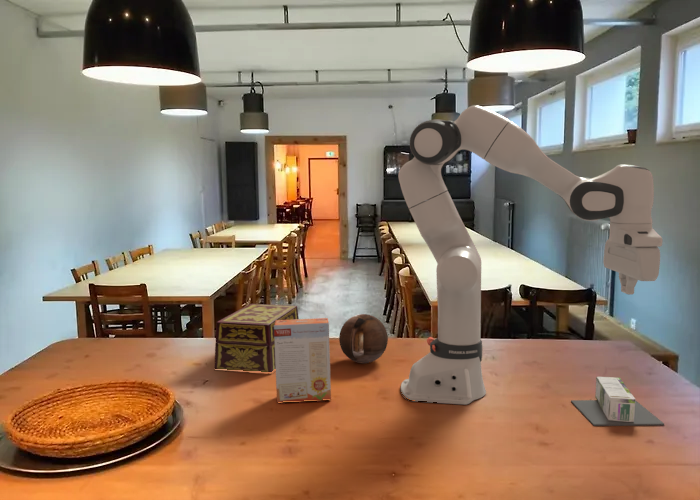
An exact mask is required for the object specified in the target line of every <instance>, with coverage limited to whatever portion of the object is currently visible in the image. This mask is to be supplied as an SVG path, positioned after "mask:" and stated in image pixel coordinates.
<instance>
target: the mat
mask: <svg viewBox="0 0 700 500" xmlns="http://www.w3.org/2000/svg"><path fill="white" fill-rule="evenodd" d="M570 402H571V403H572V404H573V406H574V407H576V409H577V410H578V412H580V413H581V414H582V415H583V417H585V418H586V419H587V420H588V422H589V423H590V424H592V425H593V427H613V426H614V427H616V426H617V427H618V426H619V427H620V426H622V427H624V426H627V427H628V426H629V427H631V426H632V427H635V426H639V427H640V426H644V427H645V426H665V423H664V422H663V421H662V420H661V419H660V418H658V417H657V416H656V415H654V414H653V413H652V412H651V411H650V410H649V409H647V408H646V407H644V406H643V405H642V404H641V403H640V402H638V401H637V400H636V399H635V412H634V422H624V421H612V420H608V419H607V417H606V415H605V414H604V412H603V410H602V408H601V406H600V405H599V403H598V401H597V399H589V400H588V399H581V400H579V399H577V400H576V399H575V400H573V399H572V400H570Z"/></svg>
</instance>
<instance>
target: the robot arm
mask: <svg viewBox="0 0 700 500" xmlns="http://www.w3.org/2000/svg"><path fill="white" fill-rule="evenodd" d="M409 148H410V152H411V153H412V154H411V155H413V157H412V159H411V160H409V161H406V162H405V163H404V164H403V165H402V166H401V168H400V169H399V171H398V177H397V178H398V182H399V184H400V190H401V193H402V196H403V198H404V201H405V203H406V206H407V207H408V210H409V213H410V215H411V216H412V219H413V220H414V223H415V225H416V227H417V229H418V231H419V233H420V236H421V237H422V239H423V240H424V242H425V244H426V245H427V247H428V248H429V250H430V252H431V254H432V256H433V258H434V260H435V261H436V264H437V265H436V296H437V297H436V298H437V337H436V338H435V339H434V337H432V336H429V337H427V339H426V343H427V345H428V346H429V350H430V352H428V353H427V354H425V355H424V356H422V357H421V358H420V359H419V360H417V361H416V362H414V363H413V364H412V366H411V368H410V371H409V375H408V378H405V379H404V380H403V381H402V382H401V384H400V393H401V392H402V393H401V395H402V394H403V395H404V396H405V397H406V398H408V399H410V400H415V401H414V402H418V401H427V402H426V403H433V402H437V403H436V404H451V405H452V404H453V405H465V406H466V405H469V404H470V403H472V402H474V401H475V400H478V399H481V398H482V397H484V396H485V395H486V394H487V389H486V387H485V383H484V379H483V372H482V360H483V359H482V358H483V341H482V339H481V325H482V324H481V317H482V316H481V315H482V260H481V259H482V258H481V256H480V254H479V251H478V249H477V247H476V245H475V244H474V241H473V239H472V237H471V235H470V233H469V232H468V229H467V228H466V226H465V224H464V222H463V220H462V218H461V216H460V214H459V211H458V210H457V208H456V205H455V202H454V201H453V199H452V197H451V194H450V193H449V191H448V187H447V186H446V184H445V181H444V179H443V176H442V169H443V168H444V167H445V166H447V165H448V164H449V163H450V162H451V161H452V160H453V159H454V158H455V157H456V156H457V155H459V154H458V153H459V152H460V151H461V150H465V151H469V152H471V153H473V154H475V155H476V156H478V157H480V158H481V159H482V160H484V161H486V162H487V163H489V164H490V165H492V166H494V167H496V168H498V169H500V170H503V171H505V172H508V173H511V174H516V175H522V176H525V177H527V178H529V179H532V180H534V181H537V182H538V183H539V184H541V185H543V186H544V187H546V188H547V189H549V190H550V191H552V192H553V193H555V194H556V195H558V196H559V197H560V198H561V199H562V200H563V201H564V202H565V204H566V206H567V207H568V209H569V210H570V211H571V213H572V214H573V215H575V216H576V217H577V218H579V219H581V220H583V221H587V222H589V221H590V222H593V221H595V222H596V221H598V220H603V219H607V218H609V234H608V235H609V237H608V239H606V241H605V244H604V249H603V250H604V252H603V262H602V263H603V266H604V268H606V269H609V270H611V271H614V272H616V273H618V279H619V283H620V286H621V287H620V292H622V293H624V294H625V295H634V294H635V287H636V285H637V283H638V282H639V281H640V282H655V281H657V279H658V277H659V275H660V266H661V265H660V264H661V251H660V250H661V249H660V248H659V247H662V246H663V237H662V236H661V235H660V234H658V232H657V231H656V230H655V229H654V228H653V218H652V209H653V206H654V200H655V199H654V194H655V185H654V177H653V173H652V172H651V171H650V169H648V168H647V167H644V166H639V165H633V164H624V163H623V164H617V165H616V166H615V167H613V168H612V169H610V170H608V171H606V172H604V173H601V174H600V175H597V176H594V177H591V178H590V177H583V176H579V175H576V174H574V173H573V172H571V171H570V170H568V169H567V168H565V167H564V166H562V165H560V164H559V163H557V162H556V161H554V160H553V159H551V158H550V157H549V156H547V155H546V154H545V153H544V151H542V149H541V148H540V147H539V145H538V144H537V142H536V141H535V139H534V138H533V137H532V136H531V135H530V134H528V133H527V131H525V130H524V129H523V128H522V127H520V126H519V125H518V124H517V123H515V122H513V121H512V120H511V119H509V118H507V117H505V116H503V115H501V114H500V113H498V112H495V111H493V110H491V109H489V108H486V107H483V106H481V105H477V104H476V105H474V104H473V105H470V106H469V107H467V108H466V109H464V110H463V111H462V112H461V113H460V115H459V116H458V117H457V118H456V119H455V120H454V121H453V120H446V119H445V120H444V119H440V118H439V119H438V118H437V119H435V118H434V119H429V120H426V121H422V122H421V123H420V124H418V125H417V126H416V127H415V128H414V129H413V131H412V132H411V134H410V137H409ZM403 395H402V396H403ZM404 396H403V397H404ZM405 397H404V398H405ZM406 398H405V399H406Z"/></svg>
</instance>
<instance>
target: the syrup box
mask: <svg viewBox="0 0 700 500" xmlns="http://www.w3.org/2000/svg"><path fill="white" fill-rule="evenodd" d="M595 400H597V401H598V403H599V405H600V406H601V408H602V410H603V412H604V414H605V415H606V417H607V419H608V420H612V421H624V422H634V412H635V400H636V397H634V395H633V394H632V392H631V391H630V390H629V388H628V387H627V386H626V384H625V382H624V381H623V380H622V378H621V377H612V376H611V377H610V376H596V378H595Z"/></svg>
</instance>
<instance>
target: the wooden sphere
mask: <svg viewBox="0 0 700 500" xmlns="http://www.w3.org/2000/svg"><path fill="white" fill-rule="evenodd" d="M338 339H339V341H338V342H339V346H340V349H341V351H342V352H343V354H344V355H345V357H347V358H348V359H349V360H350V361H353V362H355V363H357V364H358V363H359V364H369V362H370V363H373V362H374V361H376V360H378V359H379V358H380V357H382V356H383V355H384V353H385V351H386V349H387V346H388V342H389V340H388V339H389V337H388V332H387V329H386V327H385V325H384V323H383V322H382V321H381V319H379V318H378V317H376V316H373V315H371V314H367V313H361V314H360V313H359V314H356V315H353V316H351V317H350V318H348V319H347V320H346V321H345V322H344V323H343V325H342V327H341V329H340V332H339V337H338Z"/></svg>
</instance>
